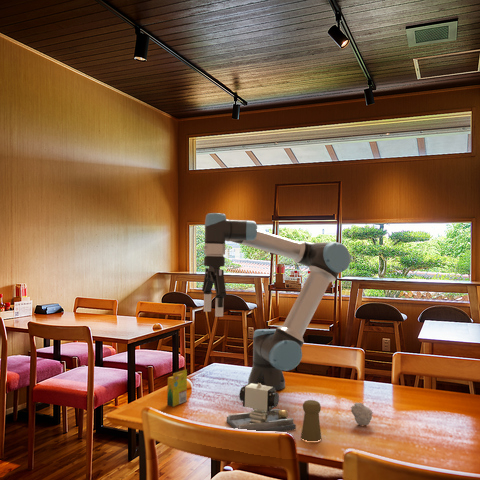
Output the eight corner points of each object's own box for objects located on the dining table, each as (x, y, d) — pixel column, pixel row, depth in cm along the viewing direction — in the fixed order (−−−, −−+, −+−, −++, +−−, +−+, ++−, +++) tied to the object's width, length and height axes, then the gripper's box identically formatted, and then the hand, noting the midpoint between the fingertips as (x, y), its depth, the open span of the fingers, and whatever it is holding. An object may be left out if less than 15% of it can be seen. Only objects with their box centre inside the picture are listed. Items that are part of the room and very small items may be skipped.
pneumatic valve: (273, 428, 136) (273, 388, 136) (238, 420, 141) (239, 382, 142) (279, 422, 141) (280, 383, 141) (246, 415, 146) (246, 378, 147)
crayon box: (180, 400, 164) (181, 367, 165) (186, 401, 163) (187, 369, 163) (166, 405, 158) (167, 371, 159) (172, 407, 157) (173, 373, 157)
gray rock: (348, 421, 147) (349, 399, 147) (370, 422, 147) (370, 400, 147) (352, 428, 141) (353, 406, 141) (375, 429, 141) (375, 407, 141)
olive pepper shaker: (298, 434, 135) (299, 397, 136) (318, 434, 136) (319, 397, 136) (303, 443, 129) (304, 404, 130) (323, 443, 130) (324, 404, 130)
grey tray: (276, 415, 151) (277, 403, 151) (295, 429, 139) (296, 416, 139) (226, 421, 145) (226, 409, 145) (241, 437, 132) (242, 423, 133)
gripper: (195, 254, 175) (193, 309, 174) (215, 255, 152) (214, 319, 151) (213, 255, 177) (212, 309, 177) (236, 256, 154) (235, 318, 154)
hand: (213, 314), depth 164 cm, fingers open, 13 cm apart
